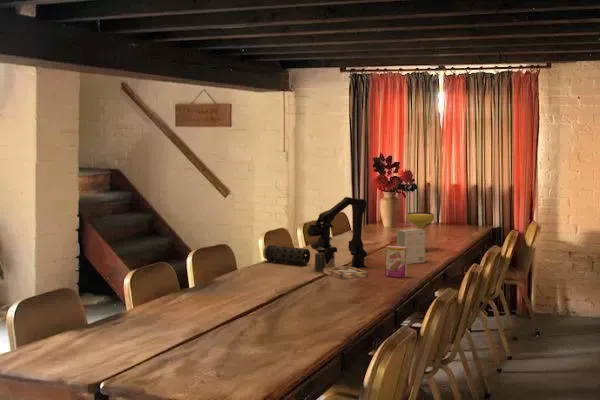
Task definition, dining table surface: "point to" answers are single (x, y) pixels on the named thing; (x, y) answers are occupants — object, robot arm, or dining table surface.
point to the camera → (323, 261)
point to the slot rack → (337, 273)
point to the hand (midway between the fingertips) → (324, 262)
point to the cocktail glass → (420, 219)
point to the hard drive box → (412, 244)
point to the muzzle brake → (286, 255)
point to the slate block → (348, 271)
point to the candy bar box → (396, 261)
